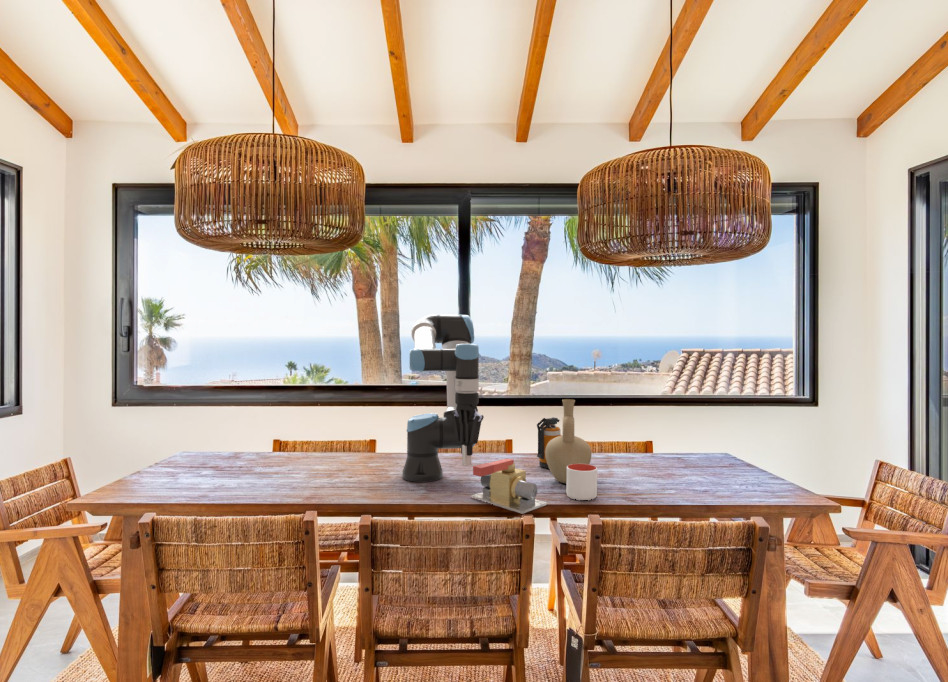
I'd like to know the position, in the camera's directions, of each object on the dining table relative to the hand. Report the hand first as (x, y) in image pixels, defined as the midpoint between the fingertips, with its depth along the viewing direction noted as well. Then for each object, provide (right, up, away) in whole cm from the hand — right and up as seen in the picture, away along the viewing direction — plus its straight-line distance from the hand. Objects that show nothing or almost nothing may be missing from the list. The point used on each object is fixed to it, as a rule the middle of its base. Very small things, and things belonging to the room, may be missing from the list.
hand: (466, 464), depth 177 cm
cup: (+38, -12, +6) cm, 41 cm away
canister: (+33, -11, +46) cm, 57 cm away
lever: (+9, -2, -4) cm, 10 cm away
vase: (+37, -12, +24) cm, 46 cm away
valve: (+13, -12, +1) cm, 18 cm away
